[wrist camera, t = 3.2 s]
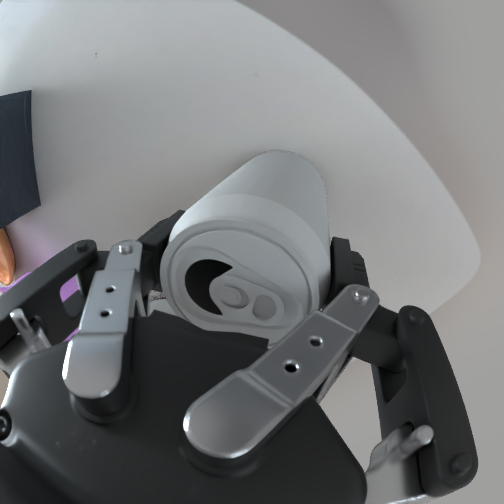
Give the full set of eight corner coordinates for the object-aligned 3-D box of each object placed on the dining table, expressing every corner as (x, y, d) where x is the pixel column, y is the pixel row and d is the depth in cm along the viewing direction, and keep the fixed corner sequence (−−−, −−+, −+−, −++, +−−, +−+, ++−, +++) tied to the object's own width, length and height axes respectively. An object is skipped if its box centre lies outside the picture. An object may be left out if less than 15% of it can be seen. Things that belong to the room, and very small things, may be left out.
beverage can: (247, 138, 18) (150, 184, 8) (338, 164, 17) (364, 248, 7) (231, 219, 21) (150, 327, 11) (311, 244, 21) (294, 377, 10)
